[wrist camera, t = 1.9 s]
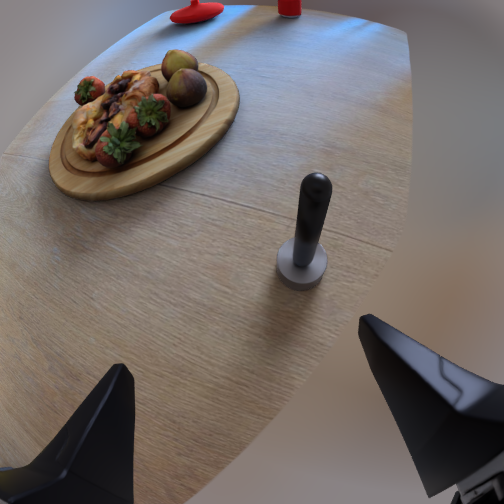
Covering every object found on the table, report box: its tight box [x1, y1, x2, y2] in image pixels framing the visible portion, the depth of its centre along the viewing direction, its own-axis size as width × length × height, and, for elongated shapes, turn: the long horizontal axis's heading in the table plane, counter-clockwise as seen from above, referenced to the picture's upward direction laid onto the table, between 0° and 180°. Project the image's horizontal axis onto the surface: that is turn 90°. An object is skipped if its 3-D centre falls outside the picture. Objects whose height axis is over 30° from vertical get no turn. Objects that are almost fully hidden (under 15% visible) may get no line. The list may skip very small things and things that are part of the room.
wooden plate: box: [49, 50, 240, 201], centre depth 34 cm, size 32×32×8 cm
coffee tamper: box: [277, 173, 332, 291], centre depth 20 cm, size 4×4×13 cm
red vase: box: [170, 0, 224, 24], centre depth 56 cm, size 16×16×7 cm
